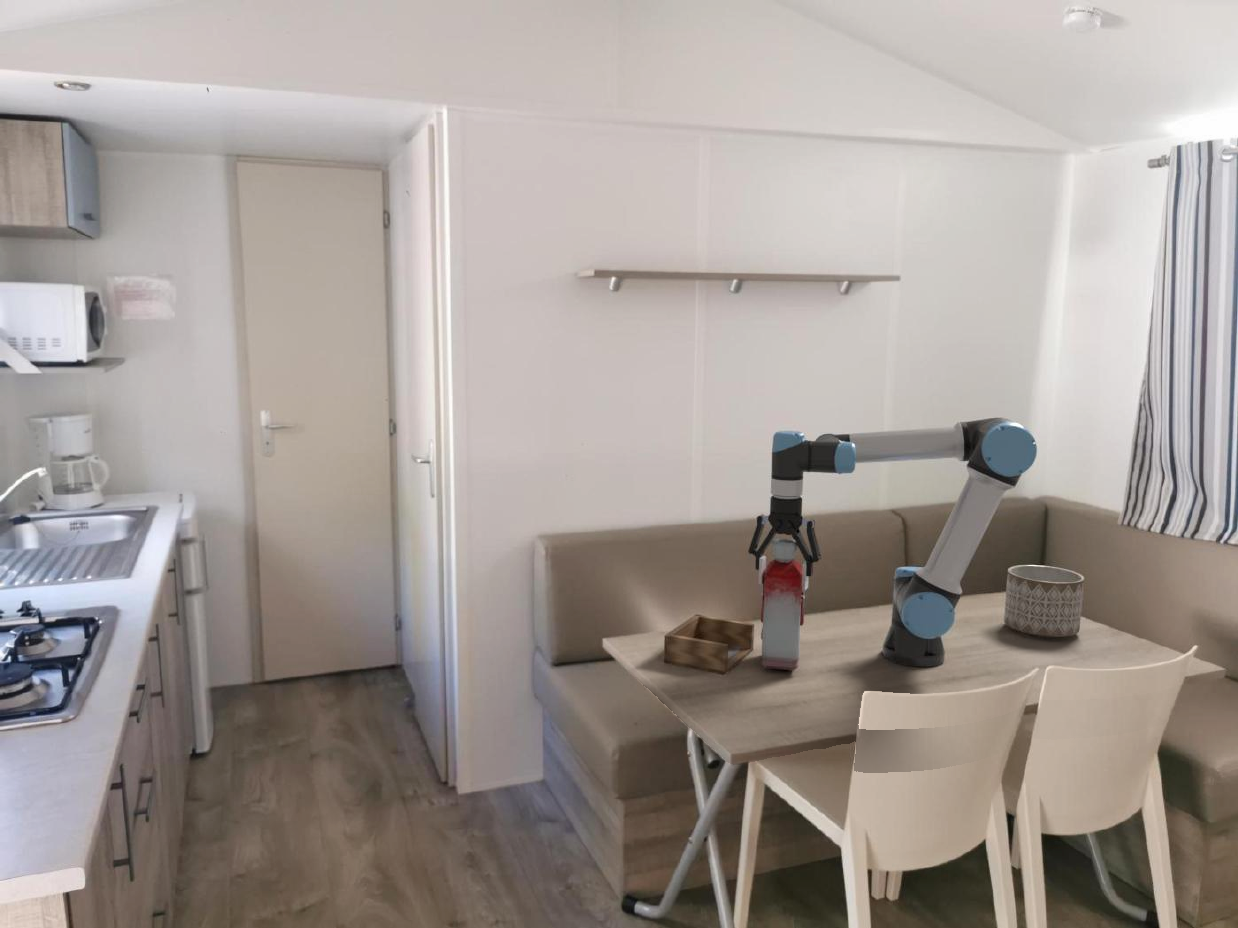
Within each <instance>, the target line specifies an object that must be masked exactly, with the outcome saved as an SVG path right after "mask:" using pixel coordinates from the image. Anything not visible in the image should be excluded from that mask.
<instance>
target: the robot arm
mask: <svg viewBox="0 0 1238 928" xmlns="http://www.w3.org/2000/svg"><path fill="white" fill-rule="evenodd" d="M1037 447H1038V446H1037V442H1036V440H1035V437H1034V436H1033V434H1032V433H1031V432H1030V430H1029V429H1028V428H1026V427H1025V426H1024V425H1022V424H1020V423H1018V422H1014V421H1012V420H1010V419H1008V418H1004V417H991V418H983V419H976V420H970V421H959V422H956V424H954V426H949V427H948V426H946V427H944V426H943V427H931V428H917V429H901V430H899V429H898V430H888V431H886V430H884V431H869V432H856V433H854V432H853V433H843V434H842V433H841V434H834V433H823V434H821V435H819V436H817V438H816V439H815V440H806V437H805V433H804V432H803V431H798V430H797V431H796V430H781V431H776V432H774V434H773V437H772V448H771V477H770V479H771V481H770V494H771V495H772V496H770V500H769V501H770V502H769V503H770V505H769V515H764V513H763V514H760V515H758V516H756V527H755V530H754V533H753V536H752V539H751V542H750V545H749V548H748V550H747V551H748V554H750V555H753V556H755V564H754V565H755V570H757V571H758V585H761V586H762V583H763V582H764V578H765V574H766V569H767V556H766V555H764V553H765V552H766V550H767V549H768V547H769V546H770V544H771V543H772V542H773V541H774V538H775V537H776V535H786V536H791V538H792V540H795V541H796V543H797V545H798V549H799V551H800V553H801V554H802V555H801V556H802V557H803V559H804V561H805V562H803V563H802V568H803V572H802V590H805V591H806V590H808V589H809V577H810V578H811V577H812V575H813V572H814V571H813V570H814V563H818V562H819V561H821V559H822V555H821V551H820V547H819V544H818V543H819V542H818V539H817V535H816V531H815V524H816V522H815V520H814V519H804V518H803V514H802V511H803V497H801V496H802V495H803V490H804V489H803V488H804V473H822V474H824V473H825V474H826V473H827V474H838V475H841V474H852V473H854V472H855V469H856V464H868V463H871V464H872V463H885V462H886V463H887V462H904V461H920V460H937V459H938V460H939V459H956V460H958V461H959V462H967V464H966V470H967V472H968V477H967V480H966V481H965V484H964V486H963V488H962V489H961V492H960V494H959V495H958V498H957V500H956V502H955V504H954V506H953V509H952V510H951V513H950V514H949V516H948V519H947V520H946V523H945V525H944V527H943V529H942V530H941V533H940V535H939V537H938V539H937V541H936V543H935V546H934V548H933V549H932V551H931V553H930V556H929V557H928V560H927V562H926V564H925V566H923V567H918V566H901V567H897V568H895V571H894V577H893V593H892V607H891V609H892V610H891V612H892V613H891V625H890V627H889V630H888V632H887V634H886V636H885V639H884V641H883V643H882V656H883V657H884V658H886V659H887V660H889V661H891V662H893V663H896V664H897V663H898V664H901V665H906V666H910V667H911V666H912V667H935V666H938V665H941V664H943V663H945V658H946V656H945V655H946V651H945V647H944V643H943V640H942V636H944V635H946V634H947V633H948V632H949V631H950V630H951V628H952V627H953V624H954V622H955V615H956V612H955V609H956V606H957V605H958V602H959V601H960V598H961V597H962V595H963V589H962V587H961V581H962V580H963V577H964V576H965V573H966V571H967V569H968V568H969V565H970V563H971V561H972V559H973V557H974V555H975V553H976V551H977V549H978V547H979V545H980V543H981V541H982V539H983V537H984V535H985V533H986V532H987V531H986V530H987V529H988V527H989V525H990V522H991V521H992V518H993V516H994V515H995V512H996V511H997V509H998V506H999V504H1000V503H1001V501H1002V498H1003V496H1004V495H1005V492H1007V491H1009V490H1011V489H1012V490H1013V489H1015V488H1016V486H1017V484H1018V482H1019V480H1020V479H1021V477H1022V474H1023V473H1025V472H1027V471H1028V470H1029V469H1031V467H1032V466H1033V464H1034V462H1035V461H1036V458H1037V451H1038V448H1037ZM767 522H769V524H770V526H771V529H770V530H769V532H768V533H767V535H766V537H765V539H763V542H762V543H761V545H760V546H759V543H760V541H761V538H762V534H763V532H764V528H765V525H767ZM802 525H803V528H804V529H805V530H806V535H807V540H808V543H809V547H808V545H807V543H806V540H805V539H804V537H803V535H802V531H801V529H800V527H802ZM758 546H759V548H758Z"/></svg>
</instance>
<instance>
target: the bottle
mask: <svg viewBox="0 0 1238 928" xmlns="http://www.w3.org/2000/svg"><path fill="white" fill-rule="evenodd" d="M770 544H771V548H772V553H773V557H774V559H773V560H771V561H769V562H768V564H766V571H765V578H764V582H763V583H762V585H761V595H760V598H761V602H760V603H761V606H760V607H761V608H760V622H761V623H762V628H761V633H760V634H761V635H760V639H761V657H762V660H761V666H763V667H764V668H765V669H773V670H785V671H786V670H787V671H795V670H796V669H798V668H799V659H800V643H801V641H800V639H801V627H802V626H803V625H804V621H805V619H804V618H805V598H806V595H805V594H806V590H802V572H803V566H801V565H802V564H801V563H799V562H798V561H796V560H795V559H796V557H797V553H798V551H799V550H798V549H799V547H798V545H797V543H796V541H795V539H790V538H777V539H773V540H772V541H771V543H770Z"/></svg>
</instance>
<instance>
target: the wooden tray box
mask: <svg viewBox="0 0 1238 928" xmlns="http://www.w3.org/2000/svg"><path fill="white" fill-rule="evenodd" d="M754 635H755V623H752V622H745V621H740V620H739V621H738V620H733V619H726V618H719V617H714V616H710V615H709V616H707V615H702V614H695V615H692V616H691V617H690V618H689V619H687V620H685V621H684V622H682V623H681V624H680V625H677V626H676V627H675V628H673V629H672V630H671V631H669V632H667V633H666V634H664V644H663V645H664V646H663V647H664V648H663V663H664V664H668V665H674V666H679V667H684V668H689V669H690V668H691V669H694V670H700V671H706V672H709V673H717V674H721V675H726V674H728V672H730V671H731V670H732V669H733V668H734V667H736V666H737V665H738V664H739V663H741V662H742V661H743V660H744V659H745V658H746V657H747V656H748V655H749V654H751V653H752V652H753V651H754V644H755V643H754V642H755V641H754V640H755V639H754V638H755V636H754Z"/></svg>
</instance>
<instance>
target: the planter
mask: <svg viewBox="0 0 1238 928" xmlns="http://www.w3.org/2000/svg"><path fill="white" fill-rule="evenodd" d="M1084 587H1085V576H1083V575H1082V574H1080V573H1079V572H1077V571H1073V570H1070V569H1066V568H1061V567H1057V566H1049V565H1037V564H1019V565H1018V564H1017V565H1013V566H1010V567H1009V568H1008V569H1007V579H1006V589H1005V590H1006V591H1005V602H1004V612H1003V613H1004V614H1003V622H1004V624H1005V625H1006V626H1007V627H1009V628H1011V629H1013V630H1015V631H1019V632H1022V633H1024V634H1027V635H1030V636H1033V635H1034V637H1038V636H1040V637H1039V638H1063V637H1065V638H1066V637H1071V636H1074V635H1077V634H1078V633H1079V632H1080V629H1081V618H1082V617H1081V616H1082V609H1083V597H1084Z"/></svg>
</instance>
